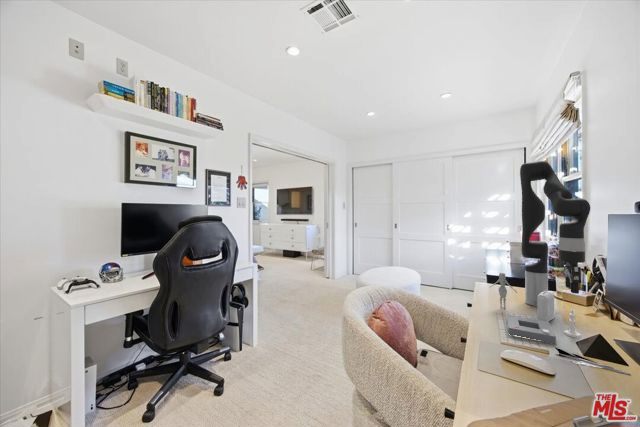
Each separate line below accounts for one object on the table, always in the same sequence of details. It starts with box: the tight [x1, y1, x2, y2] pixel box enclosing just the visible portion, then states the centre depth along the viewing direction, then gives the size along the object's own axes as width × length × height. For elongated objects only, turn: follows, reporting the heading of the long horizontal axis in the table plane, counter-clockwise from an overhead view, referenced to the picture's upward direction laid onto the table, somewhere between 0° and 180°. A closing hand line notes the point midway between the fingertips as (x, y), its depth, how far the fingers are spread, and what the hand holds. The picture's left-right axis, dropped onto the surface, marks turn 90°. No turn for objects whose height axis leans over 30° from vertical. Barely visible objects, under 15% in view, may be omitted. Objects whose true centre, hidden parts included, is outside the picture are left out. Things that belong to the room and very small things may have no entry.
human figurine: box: [488, 272, 518, 310], centre depth 132 cm, size 12×4×18 cm, turn 43°
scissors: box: [555, 347, 632, 376], centre depth 85 cm, size 8×21×2 cm, turn 42°
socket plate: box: [506, 314, 557, 346], centre depth 106 cm, size 16×14×4 cm
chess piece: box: [563, 309, 582, 339], centre depth 103 cm, size 5×5×10 cm
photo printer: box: [536, 290, 556, 322], centre depth 119 cm, size 10×4×12 cm, turn 123°
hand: (571, 290), depth 103 cm, fingers open, 8 cm apart
